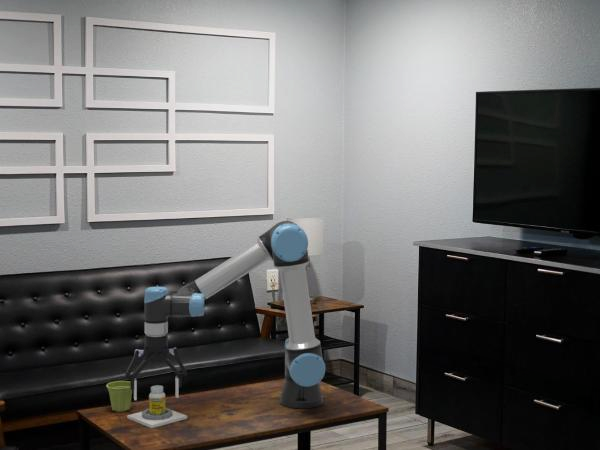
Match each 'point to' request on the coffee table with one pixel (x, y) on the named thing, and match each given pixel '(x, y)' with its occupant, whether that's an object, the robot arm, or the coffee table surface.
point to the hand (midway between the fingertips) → (156, 398)
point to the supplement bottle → (157, 401)
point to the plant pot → (120, 395)
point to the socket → (156, 418)
